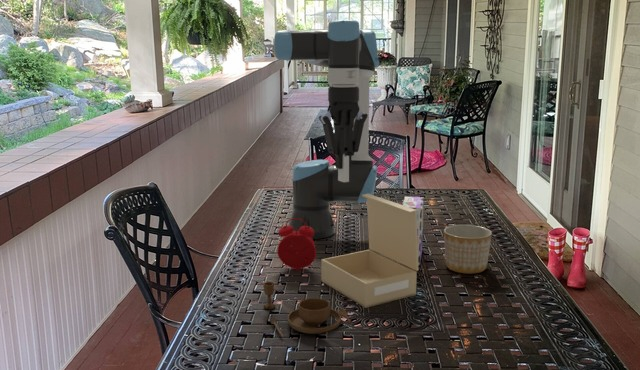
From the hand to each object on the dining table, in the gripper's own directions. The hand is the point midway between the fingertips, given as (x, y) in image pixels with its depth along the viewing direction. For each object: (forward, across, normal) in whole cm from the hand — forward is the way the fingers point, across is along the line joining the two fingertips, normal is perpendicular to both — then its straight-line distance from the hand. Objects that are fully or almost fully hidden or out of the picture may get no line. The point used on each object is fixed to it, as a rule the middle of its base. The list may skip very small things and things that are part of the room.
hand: (343, 180), depth 160 cm
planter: (+27, +34, -9) cm, 44 cm away
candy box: (+27, +27, +6) cm, 39 cm away
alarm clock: (+27, -6, +14) cm, 31 cm away
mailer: (+27, +3, -7) cm, 28 cm away
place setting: (+28, -18, -13) cm, 35 cm away
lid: (+20, +10, -7) cm, 24 cm away
